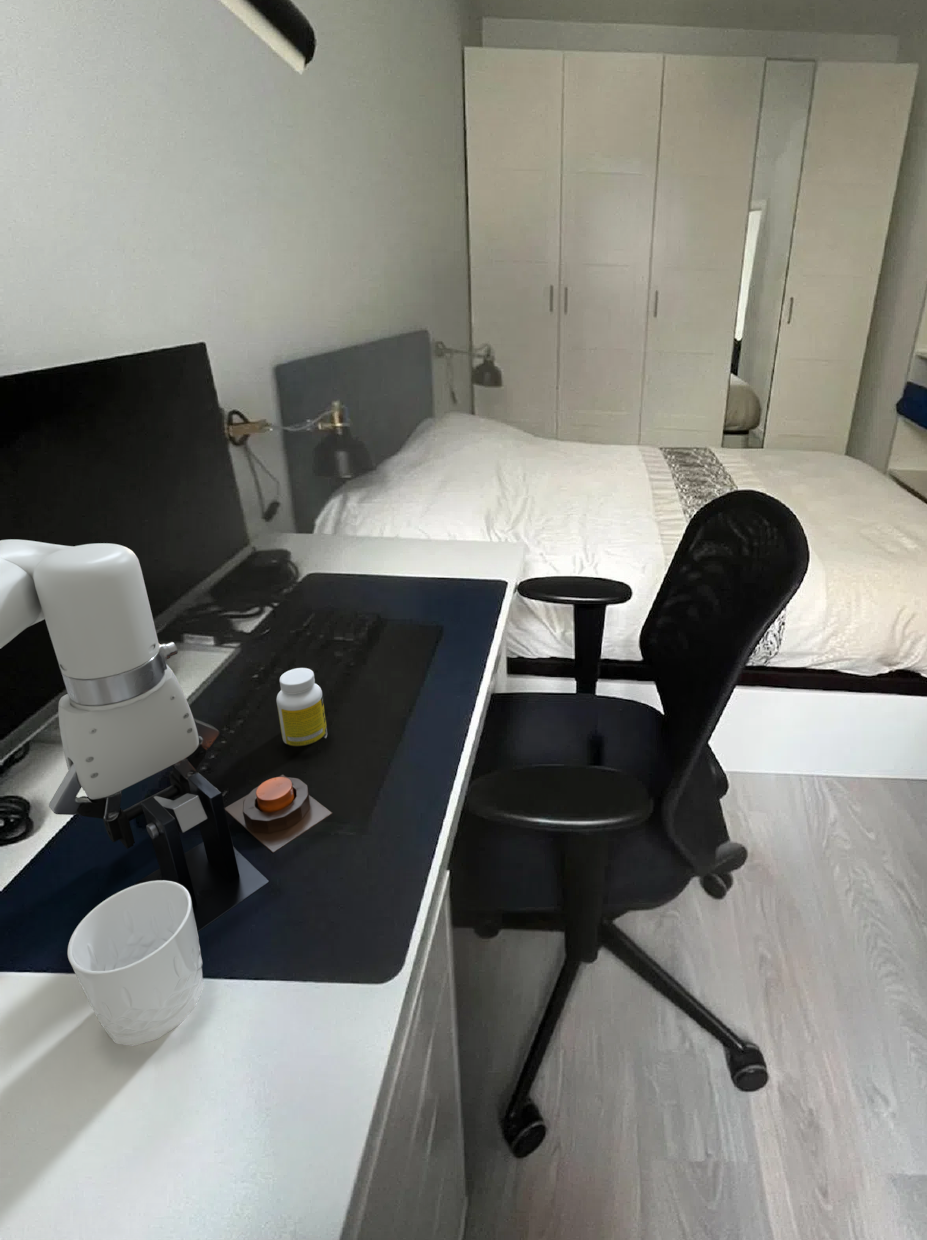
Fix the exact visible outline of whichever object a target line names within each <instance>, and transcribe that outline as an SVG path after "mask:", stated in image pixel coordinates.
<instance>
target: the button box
mask: <svg viewBox="0 0 927 1240" xmlns="http://www.w3.org/2000/svg"><path fill="white" fill-rule="evenodd" d="M278 777H285V778H288V779H290V780H291V782H292V786H293V792H294V799H293V801H292V803H291V804H290V805H289V806H287V807H285V808H284V809H282V810H278V811H274V812H271V813H270V812H263V811H261V810H260V809H259V807H258V802H257V797H256V791H257V788H258V787H259V786H260V785H258V786H256V787H254V788H253V789H251V790H250V792H249V793H248V794H245V795H244V796H243V797H241V798H239V799H238V800H236V801H234V802H232V803H231V804H229V805H227V806H226V807H224V808H225V812H226V813H227V814H229V816H231V817H232V818H233V819H234V820H235V821H236V822H237V823H238V824H240V825H241V826H242V828H244V829H245V830H246V831H247V832H249V833H250V834H251V836H253V838H255V839H256V840H257V841H259V842H260V844H262V845H263V846H264V847H265V848H266V849H267V850H268V851H270V853H272V854H274V853H276V852H278V851H279V850H280V849H282V848H283V847H285V846H286V845H288V844H290V843H291V842H292V841H294V840H295V839H297V838H298V837H300V836H301V835H303V834H304V833H306V832H307V831H309V830H310V829H312V828H314V827H315V826H316V825H318V824H320V823H321V822H322V821H324V820H325V819H327V818H328V817H330V816H331V815H333V812H332V811H331V810H330V809H328V808H327V807H326V806H325V805H323V804H322V803H320V802H319V801H318V800H317V799H315V798H314V797H312V796H311V795H310V792H309V786H308V784H306V783H305V782H304V781H303V780H302V779H300V778H298V777H288V776H286V775H284V774H281V775H279V776H278Z"/></svg>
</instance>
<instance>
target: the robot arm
mask: <svg viewBox="0 0 927 1240" xmlns="http://www.w3.org/2000/svg"><path fill="white" fill-rule="evenodd" d="M44 620H45V624H46V627H47V631H48V633H49V638H50V640H51V644H52V647H53V650H54V653H55V656H56V660H57V663H58V667H59V670H60V673H61V675H62V679H63V683H64V686H65V689H66V693H67V694H64V695H63V696H61V697H60V699H59V701H58V723H59V725H58V727H59V734H60V739H61V745H62V750H63V755H64V759H65V764H66V767H67V772H66V774H65V776H64V778H63V779H62V781H61V783H60V784H59V786H58V787H57V789H56V791H55V793H54V794H53V796H52V798H51V800H50V802H49V803H48V807H49V809H50V810H51V811H52V812H53V814H54V815H61V816H62V815H63V816H64V815H65V816H75V815H80V816H81V817H88V818H94V819H95V818H96V819H102V821H103V824H104V827H105V831H106V833H107V836H108V838H109V839H110V841H111V842H112V843H115V842H118V841H120V843H121V844H122V845H123V846H124V847H125V848H126V849H127V850H129V849H130V848H132V847H133V846H134V844H136V841H135V838H134V834H133V831H132V828H131V823H130V821H129V820H128V817H127V815H126V813H125V812H124V810H123V809H122V808H121V803H122V794H123V790H125V789H127V788H129V787H131V786H133V785H135V784H137V783H139V782H141V781H143V780H145V779H147V778H149V777H151V776H154V775H155V774H157V773H160V772H161V771H163V770H165V769H167V768H169V767H171V768H172V770H170V771H169V775H168V779H169V782H170V786H172V785H174V784H175V785H176V786H177V787H178V789H179V792H180V794H179V795H177V796H175V797H174V798H173V799H174V800H176V799H178V798H179V797H181V796H183V795H185V794H187V793H189V794H191V790H190V786H189V782H188V777H190V776H192V775H194V774H196V773H198V772H197V769H198V767H199V765H200V764H201V762H202V761H203V759H204V758H205V756H206V754H207V750H208V749H210V747H211V746H212V745H213V743H214V742H215V741H216V740H217V738H218V737H219V735H220V730H218V729H217V728H216V727H214V726H213V725H211V724H209V723H206V722H204V721H202V720H199V719H197V718H194V715H193V713H192V710H191V707H190V705H189V702H188V700H187V697H186V695H185V692H184V690H183V688H182V686H181V684H180V682H179V680H178V678H177V676H176V674H175V672H174V671H173V669H172V668H171V667H170V666H169V665H168V664H167V661H168V659H171V657H172V656H175V655H178V653H179V650H178V647H177V645H176V644H175V642H173V641H170V642H167V643H161V644H160V643H159V638H158V634H157V630H156V626H155V622H154V617H153V613H152V610H151V605H150V601H149V597H148V592H147V587H146V584H145V580H144V575H143V570H142V567H141V564H140V559H139V558H138V556H137V555H136V553H135V552H134V551H133V550H132V549H130V548H128V547H127V546H124V545H121V544H117V543H108V542H106V543H105V542H103V543H101V542H100V543H99V542H98V543H85V544H79V545H75V546H73V545H63V544H55V543H49V542H42V541H35V540H28V539H15V538H14V539H11V538H10V539H1V540H0V649H2V648H3V647H5V646H6V645H7V644H8V643H10V642H12V640H13V639H15V638H16V637H17V636H18V635H19V634H21V633H22V632H23V631H25V630H26V629H27V628H29V627H31V626H34V625H35V624H38V623H39V622H42V621H44ZM81 789H82V790H83V791H84V792H85V795H83V796H79V797H78V794H79V793H80V791H81Z"/></svg>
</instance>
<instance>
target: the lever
mask: <svg viewBox="0 0 927 1240" xmlns="http://www.w3.org/2000/svg"><path fill="white" fill-rule="evenodd" d="M179 794H180V792H179V789H178V787H177V786H176V785H175V784H174V785H172V786H171V785H170V786H168V787H166V788H164V789H163V790H160V791H158V792H156V793H155V794H153V795H151V796H148V797H146V798H145V799H143V800H141V801H139V802H137V803H135V804H134V805H133V804H132V806H129V807H128V808H126V809H124V810H123V811H124V812H125V813H126V815H127V817H128V820H129V822H131V821H132V820H134V819H136V818H138V817H140V816H142V815H144V811H143V808H142V804H141V802H143V801H145V800H147V799H149V798H150V797H154V798H155V799H156V800H157V801H158V802H159V803H160V804H161V805H162V806H163V807H164V808H165V809H166V810H167V811H168V812H169V813H170V814H171V815H172V816H173V817H174V818H175V821H176V824H177V828H178V832H179V833H182V834H184V833H186V832H187V831H189V830H191V829H192V828H194V827H196V826H198V825H199V823H201V822H203V821H204V820H206V819H207V815H206V813H205V811H204V808H203V806H202V803H201V801H200V799H199V796H198V795H193V794H189V793H187V794H185V795H183V796H181V797H179V798H178V799H176V800H175V799H174V797H175V796H177V795H179ZM173 799H174V800H173Z"/></svg>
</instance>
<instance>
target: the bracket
mask: <svg viewBox="0 0 927 1240" xmlns="http://www.w3.org/2000/svg"><path fill="white" fill-rule="evenodd" d="M188 782H189V786H190V790H191V794H193V795H198V796H199V799H200V801H201V803H202V806H203V808H204V811H205V813H206V815H207V819H206V820H204V821H203V822H201V823H199V824H198V827H199V830H200V835H201V839H202V842H201V843H199V844H198V845H196V846H194V847H193V848H191V849H189V850H188V851H186V852H184V851H185V850H184V847H183V844H182V840H181V837H180V832H179V831H178V828H177V824H176V821H175V818H174V817H173V816H172V815H171V814H170V813H169V812H168V811H167V810H166V809H165V808H164V807H163V806H162V805H161V804H160V803H159V802H158V801H157V800H156V799H155V798H154V797H151V796H149V797H150V798H149V797H148V798H149V799H147V798H146V799H147V800H145V799H144V800H145V801H143V800H142V801H143V802H141V801H140V802H141V804H142V808H143V811H144V814H143V815H144V819H145V822H146V825H145V829H146V831H147V834H148V835H149V837H150V840H151V843H152V846H153V851H154V854H155V857H156V860H157V864H158V867H159V868H158V869H156V870H155V871H153V872H151V873H150V874H148V875H147V876H144V877H143V878H142V879H139V880H138V881H136V882H135V885H137V884H140V883H144V882H149V881H157V880H165V881H172V882H176V883H178V884H180V885H182V886H184V887H185V888H186V889H187V891H188V892H189V894H190V897H191V901H192V907H193V912H194V917H195V922H196V927H197V932H198V933H200V931H203V929H205V928H206V927H208V926H209V925H211V924H212V923H214V922H216V920H218V919H219V918H222V916H224V915H225V914H227V913H228V912H229V911H231V910H232V909H233V908H235V907H236V906H238V905H240V904H241V903H242V902H244V901H245V900H247V899H248V898H249V897H251V896H252V895H254V894H255V893H256V892H258V891H259V890H261V889H262V888H263V887H265V886H266V885H268V884H269V883H270V882H271V880H269V879H268V877H266V876H265V875H264V874H263V873H262V872H261V871H260V870H259V869H258V868H256V866H254V864H252V863H251V862H250V861H249V860H248V859H247V858H246V857H245V856H244V855H243V854H242V853H241V852H240V851H239V850H237V848H236V847H234V844H233V839H232V836H231V835H232V834H231V831H230V826H229V822H228V817H227V811H225V808H226V807H225V804H224V799H223V795H222V792H221V791H220V790H219V789H218V788H217V787H216V786H214V785H213V784H212V783H211V781H209V780H207V778H205V777H204V776H203V774H201V773H199V772H197V773H196V774H194V775H192V776H190V777H188Z"/></svg>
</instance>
